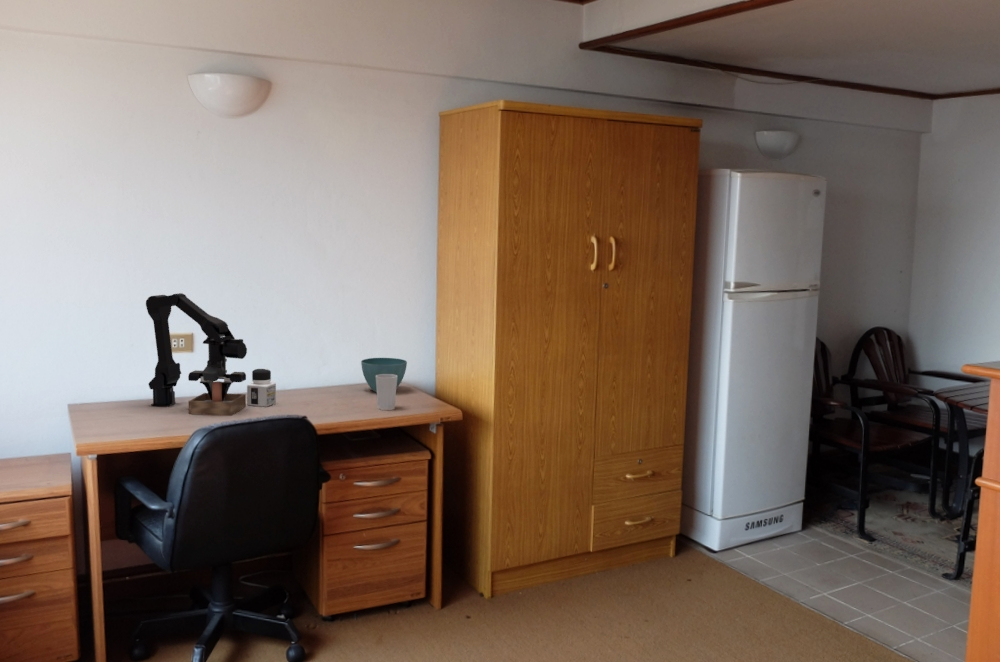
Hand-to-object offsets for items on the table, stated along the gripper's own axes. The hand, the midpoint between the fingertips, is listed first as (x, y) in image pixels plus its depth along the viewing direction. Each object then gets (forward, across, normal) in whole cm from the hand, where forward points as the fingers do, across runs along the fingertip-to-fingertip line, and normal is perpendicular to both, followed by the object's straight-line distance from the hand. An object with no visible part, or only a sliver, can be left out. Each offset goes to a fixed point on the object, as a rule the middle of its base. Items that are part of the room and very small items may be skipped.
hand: (217, 400), depth 304 cm
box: (+4, 0, 0) cm, 4 cm away
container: (+4, +12, +12) cm, 17 cm away
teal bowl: (+4, +52, +44) cm, 68 cm away
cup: (+4, +58, +12) cm, 59 cm away
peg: (+2, 0, 0) cm, 2 cm away
